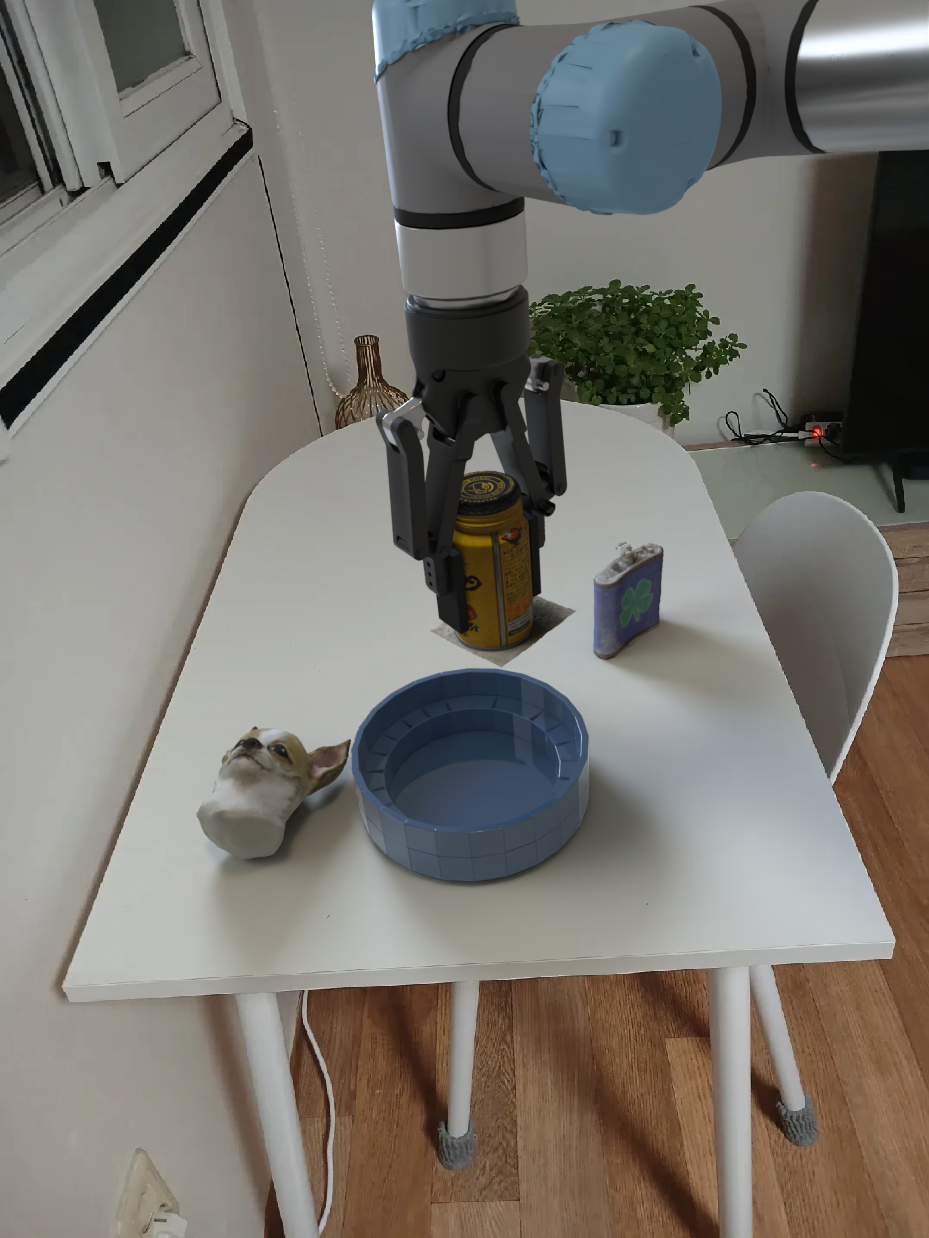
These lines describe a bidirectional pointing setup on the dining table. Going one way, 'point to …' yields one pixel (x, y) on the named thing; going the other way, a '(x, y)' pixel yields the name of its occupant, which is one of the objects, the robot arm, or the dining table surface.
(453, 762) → the basin
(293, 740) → the ceramic sculpture
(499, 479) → the condiment
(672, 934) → the dining table surface
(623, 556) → the flask
